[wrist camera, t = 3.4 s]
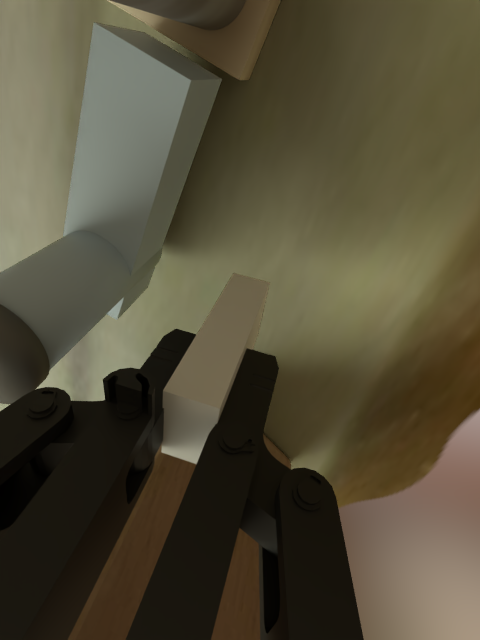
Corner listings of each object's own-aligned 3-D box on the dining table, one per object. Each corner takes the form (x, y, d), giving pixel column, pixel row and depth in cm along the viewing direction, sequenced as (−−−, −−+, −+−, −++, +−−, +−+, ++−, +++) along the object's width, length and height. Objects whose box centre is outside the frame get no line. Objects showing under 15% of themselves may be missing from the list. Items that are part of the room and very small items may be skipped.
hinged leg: (91, 256, 18) (-75, 373, 11) (139, 29, 12) (-157, -34, 5) (151, 289, 18) (25, 424, 11) (227, 82, 12) (62, 93, 5)
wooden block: (204, 370, 23) (-114, 1021, 7) (294, 460, 26) (209, 1062, 10) (120, 415, 28) (-169, 847, 13) (203, 485, 31) (54, 907, 16)
